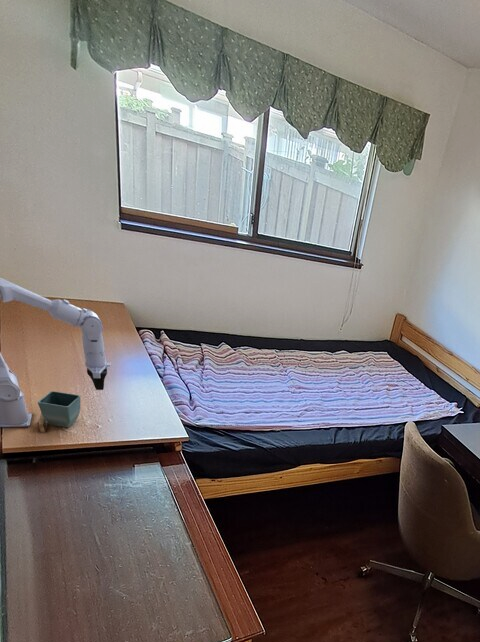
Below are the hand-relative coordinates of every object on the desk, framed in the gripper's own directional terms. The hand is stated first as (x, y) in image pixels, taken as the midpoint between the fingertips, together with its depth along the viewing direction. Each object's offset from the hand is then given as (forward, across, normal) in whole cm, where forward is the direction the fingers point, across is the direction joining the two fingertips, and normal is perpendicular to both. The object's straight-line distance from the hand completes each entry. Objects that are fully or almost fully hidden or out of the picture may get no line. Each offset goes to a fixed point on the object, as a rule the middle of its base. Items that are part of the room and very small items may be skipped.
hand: (99, 389), depth 153 cm
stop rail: (+9, -8, +16) cm, 20 cm away
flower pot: (+10, -6, +11) cm, 16 cm away
